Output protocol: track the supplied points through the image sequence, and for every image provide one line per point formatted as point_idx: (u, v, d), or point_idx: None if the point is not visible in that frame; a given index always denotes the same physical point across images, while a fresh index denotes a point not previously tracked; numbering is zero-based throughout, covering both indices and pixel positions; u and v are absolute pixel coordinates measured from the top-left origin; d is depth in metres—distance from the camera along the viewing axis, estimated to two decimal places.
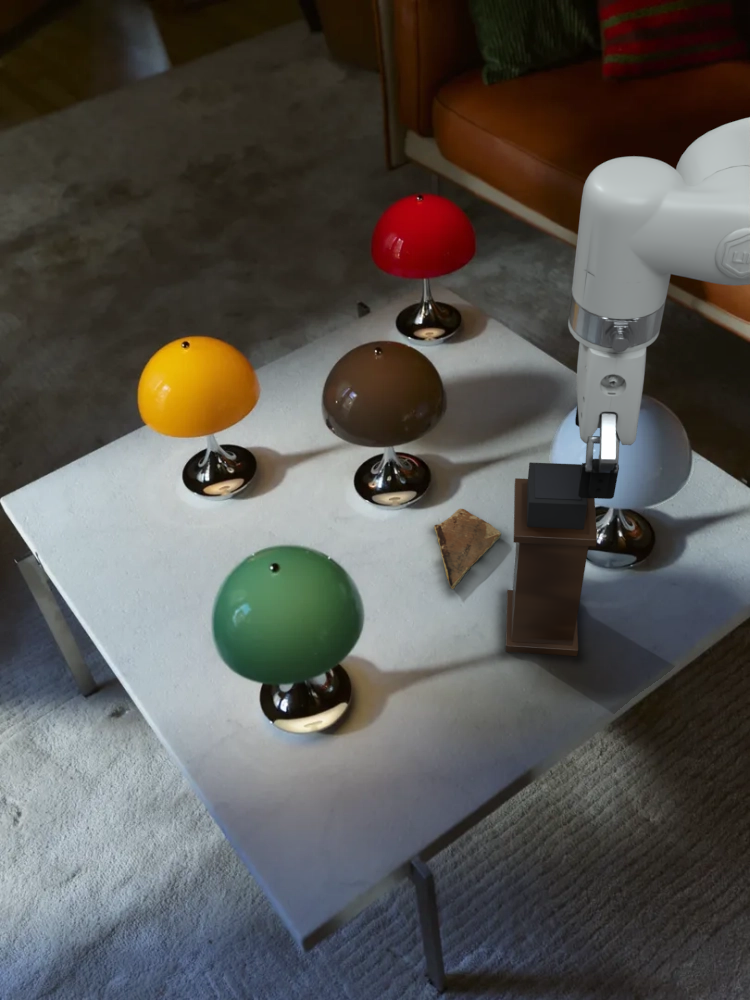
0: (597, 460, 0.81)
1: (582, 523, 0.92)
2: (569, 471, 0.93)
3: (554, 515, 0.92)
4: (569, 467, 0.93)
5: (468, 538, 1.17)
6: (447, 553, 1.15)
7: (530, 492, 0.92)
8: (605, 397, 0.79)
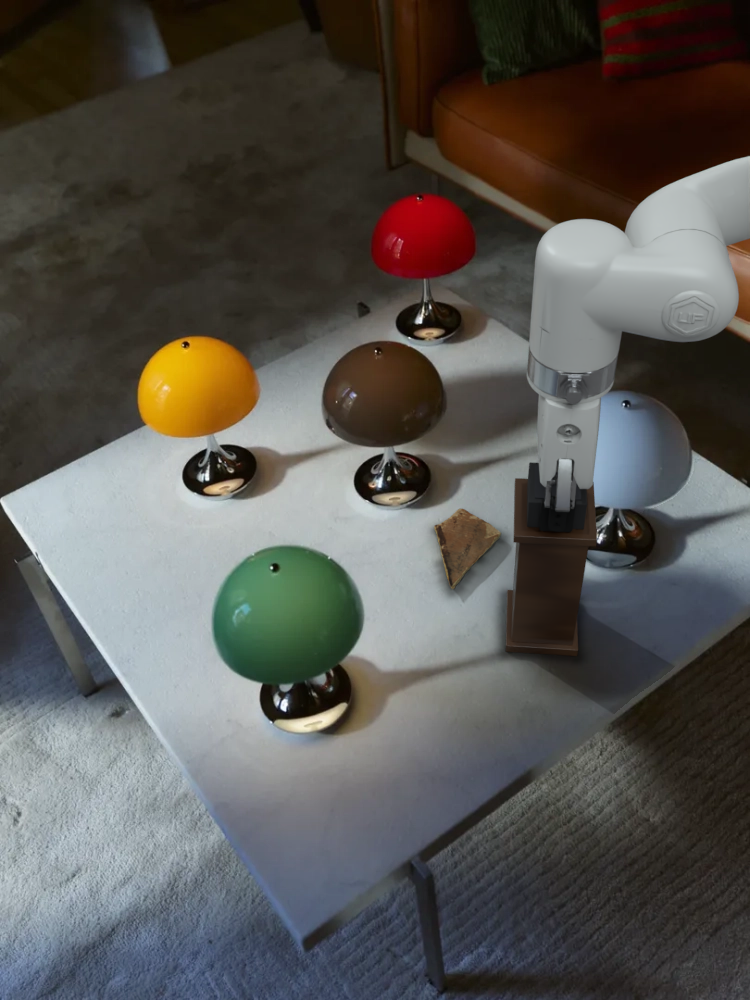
0: (554, 498, 0.86)
1: (582, 523, 0.92)
2: None
3: None
4: None
5: (468, 538, 1.17)
6: (447, 553, 1.15)
7: (530, 492, 0.92)
8: (561, 445, 0.82)
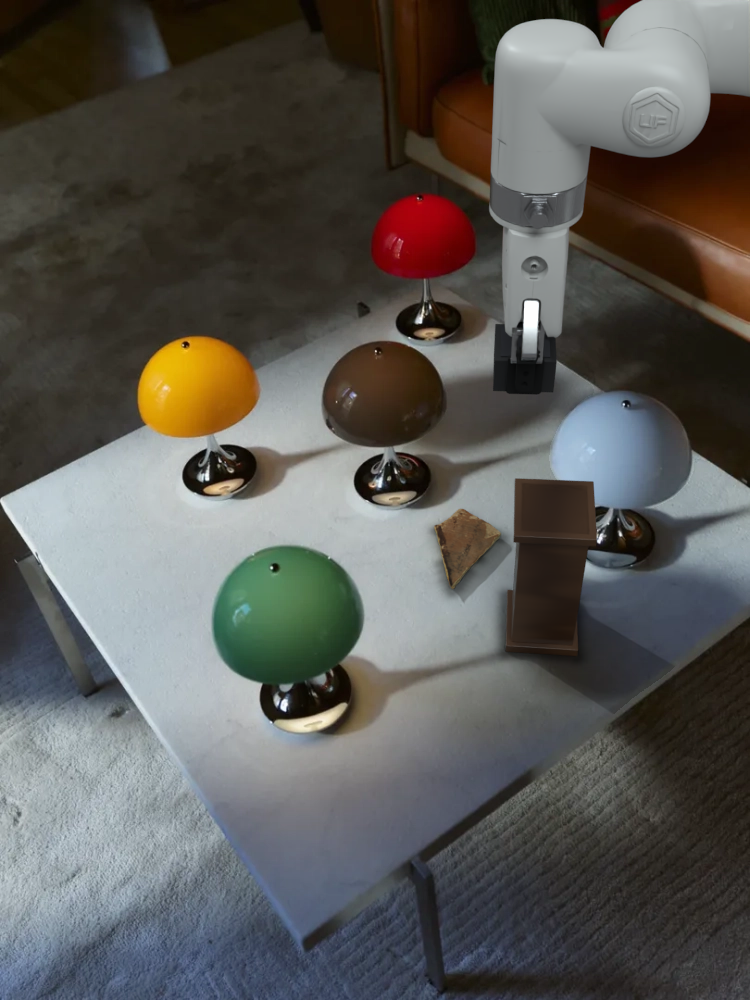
0: (520, 348, 0.80)
1: (552, 385, 0.86)
2: None
3: None
4: None
5: (468, 538, 1.17)
6: (447, 553, 1.15)
7: (496, 351, 0.85)
8: (527, 282, 0.76)
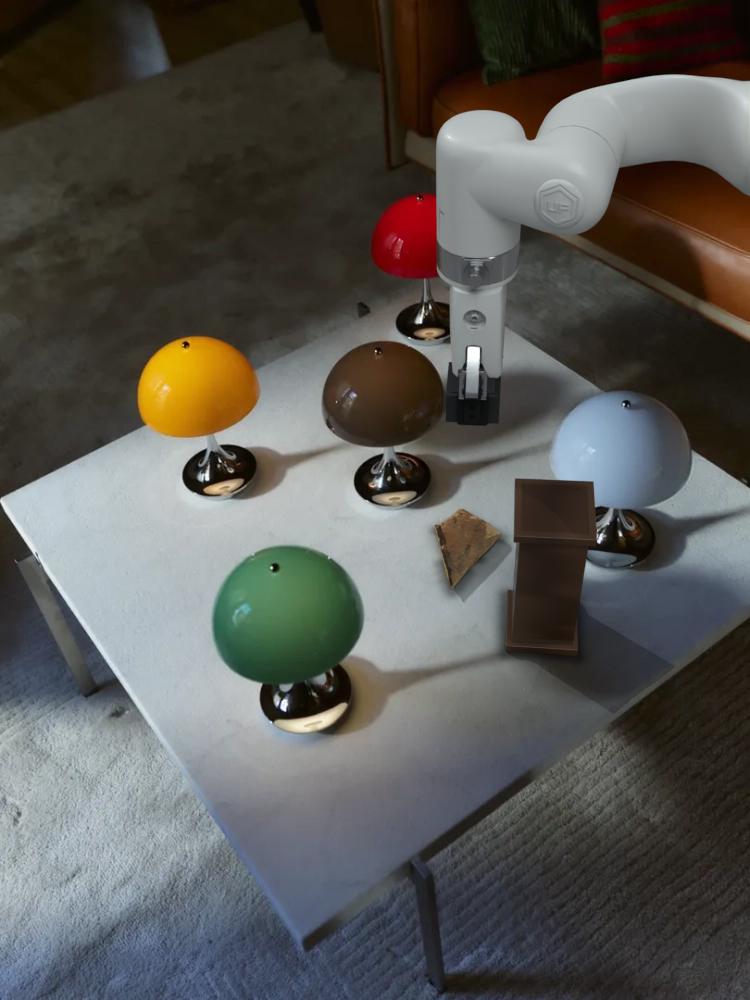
0: (465, 386, 0.91)
1: (497, 417, 0.97)
2: None
3: None
4: None
5: (468, 538, 1.17)
6: (447, 553, 1.15)
7: (447, 387, 0.97)
8: (468, 331, 0.87)
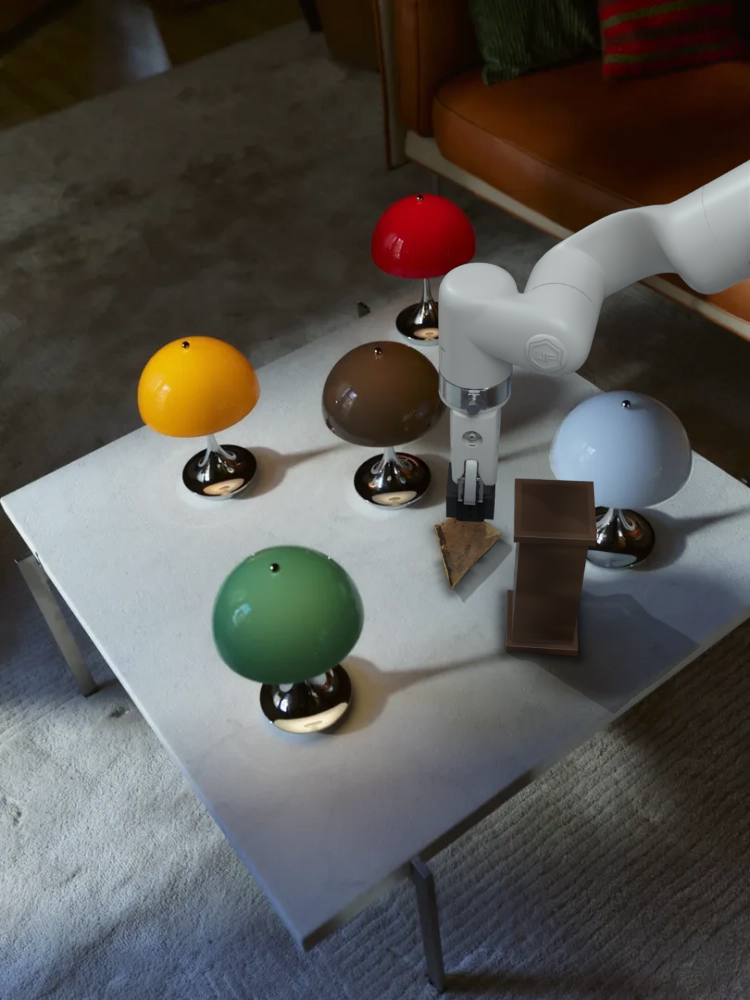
0: (464, 492, 1.02)
1: (492, 514, 1.08)
2: None
3: None
4: None
5: (468, 538, 1.17)
6: (447, 553, 1.15)
7: (447, 488, 1.08)
8: (467, 448, 0.98)
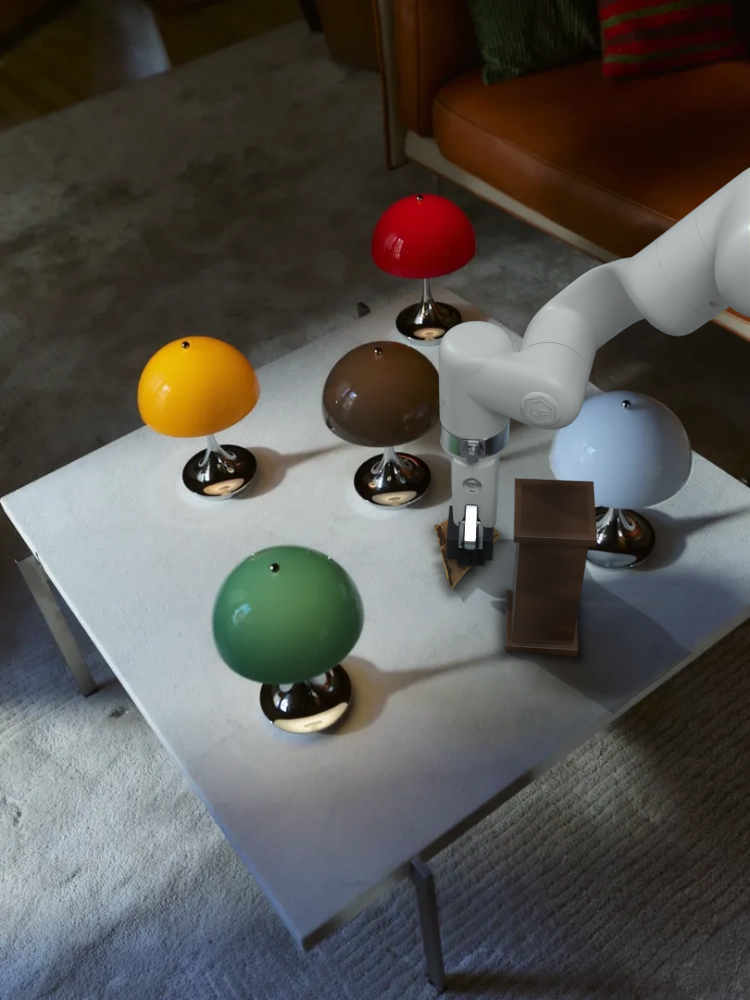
0: (464, 540, 1.05)
1: (490, 555, 1.13)
2: None
3: None
4: None
5: None
6: None
7: (448, 530, 1.13)
8: (467, 494, 1.03)
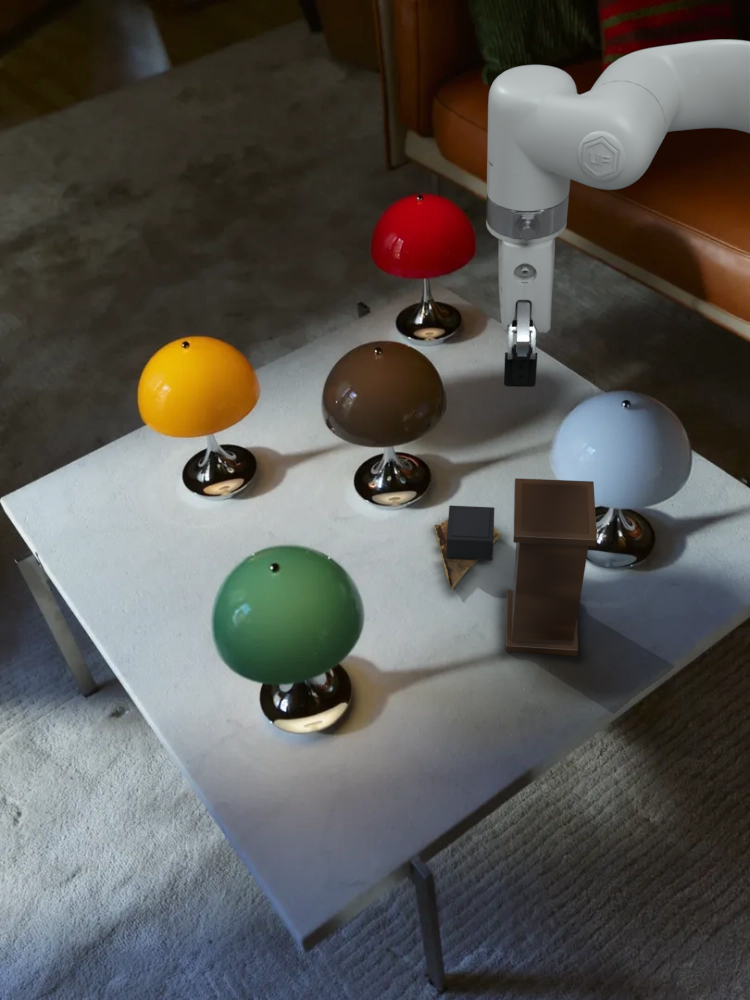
0: (515, 345, 0.91)
1: (490, 555, 1.13)
2: (481, 512, 1.15)
3: (467, 549, 1.13)
4: (481, 509, 1.15)
5: None
6: None
7: (448, 530, 1.13)
8: (519, 286, 0.89)
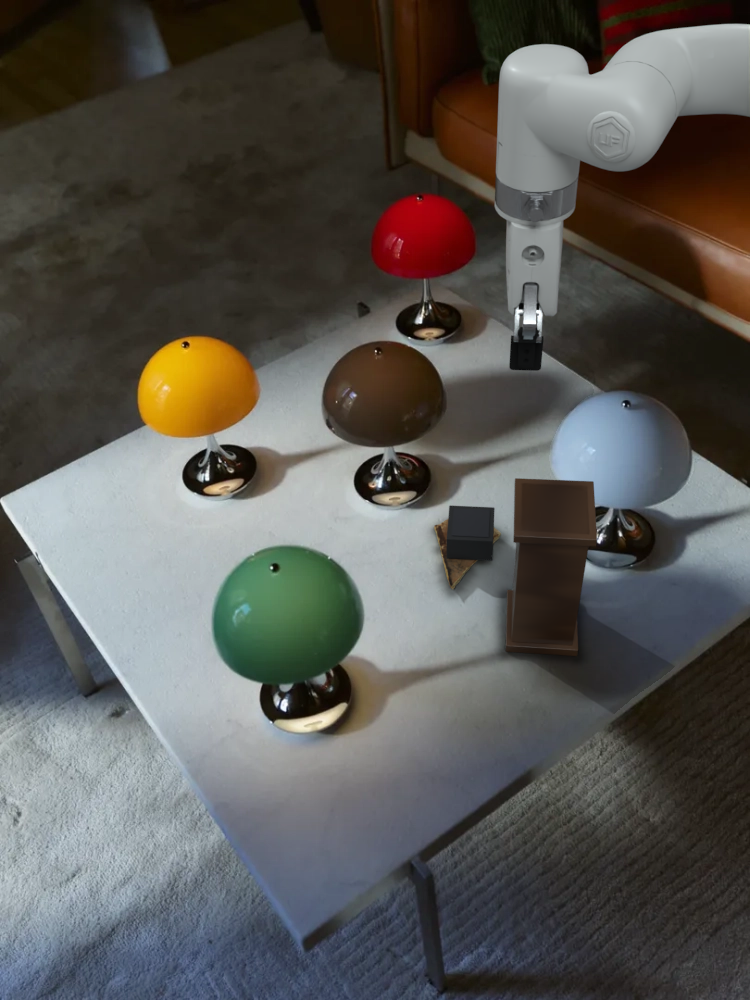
0: (521, 328, 0.91)
1: (490, 556, 1.13)
2: (481, 512, 1.15)
3: (467, 549, 1.13)
4: (481, 509, 1.15)
5: None
6: None
7: (448, 530, 1.13)
8: (526, 268, 0.88)
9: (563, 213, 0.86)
